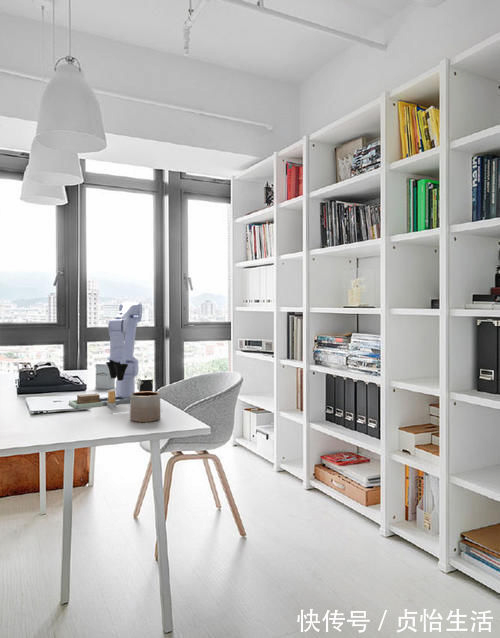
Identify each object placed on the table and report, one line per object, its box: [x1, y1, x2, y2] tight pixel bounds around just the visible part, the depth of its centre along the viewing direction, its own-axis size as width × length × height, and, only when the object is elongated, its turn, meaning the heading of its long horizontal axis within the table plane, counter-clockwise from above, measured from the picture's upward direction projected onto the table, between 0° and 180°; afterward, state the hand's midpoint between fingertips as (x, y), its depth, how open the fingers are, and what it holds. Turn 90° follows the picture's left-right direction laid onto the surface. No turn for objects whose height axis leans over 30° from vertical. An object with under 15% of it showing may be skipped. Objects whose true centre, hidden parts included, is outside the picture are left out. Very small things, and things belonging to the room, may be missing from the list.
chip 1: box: [76, 393, 90, 404], centre depth 206 cm, size 4×4×4 cm
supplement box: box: [94, 361, 116, 390], centre depth 253 cm, size 7×7×13 cm
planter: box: [129, 391, 161, 424], centre depth 184 cm, size 11×11×10 cm
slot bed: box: [100, 395, 131, 407], centre depth 213 cm, size 10×12×2 cm
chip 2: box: [86, 393, 101, 403], centre depth 208 cm, size 4×4×4 cm
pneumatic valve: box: [136, 375, 154, 392], centre depth 214 cm, size 6×12×12 cm, turn 20°
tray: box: [68, 399, 103, 409], centre depth 206 cm, size 10×11×2 cm
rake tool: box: [106, 390, 117, 409], centre depth 204 cm, size 4×3×6 cm, turn 37°
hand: (116, 379), depth 213 cm, fingers open, 7 cm apart
